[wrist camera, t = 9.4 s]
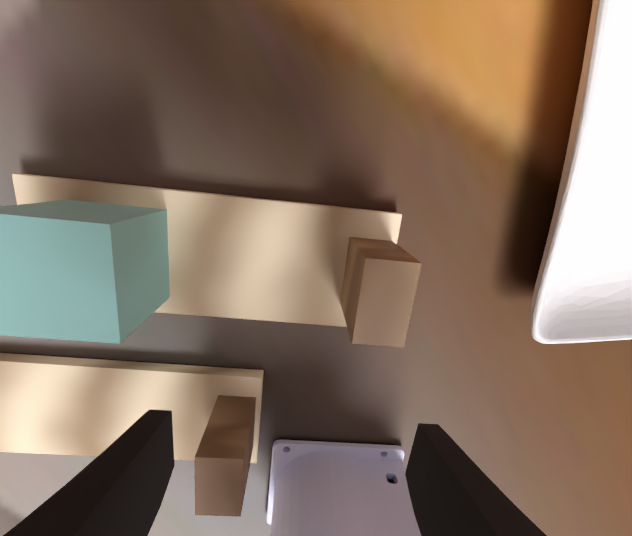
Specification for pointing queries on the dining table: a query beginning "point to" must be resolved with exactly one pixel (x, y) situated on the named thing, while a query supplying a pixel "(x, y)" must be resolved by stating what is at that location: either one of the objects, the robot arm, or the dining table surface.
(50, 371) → the empty strip
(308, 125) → the dining table surface
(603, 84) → the salad plate
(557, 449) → the dining table surface
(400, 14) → the dining table surface
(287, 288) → the strip
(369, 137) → the dining table surface
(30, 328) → the teal block
